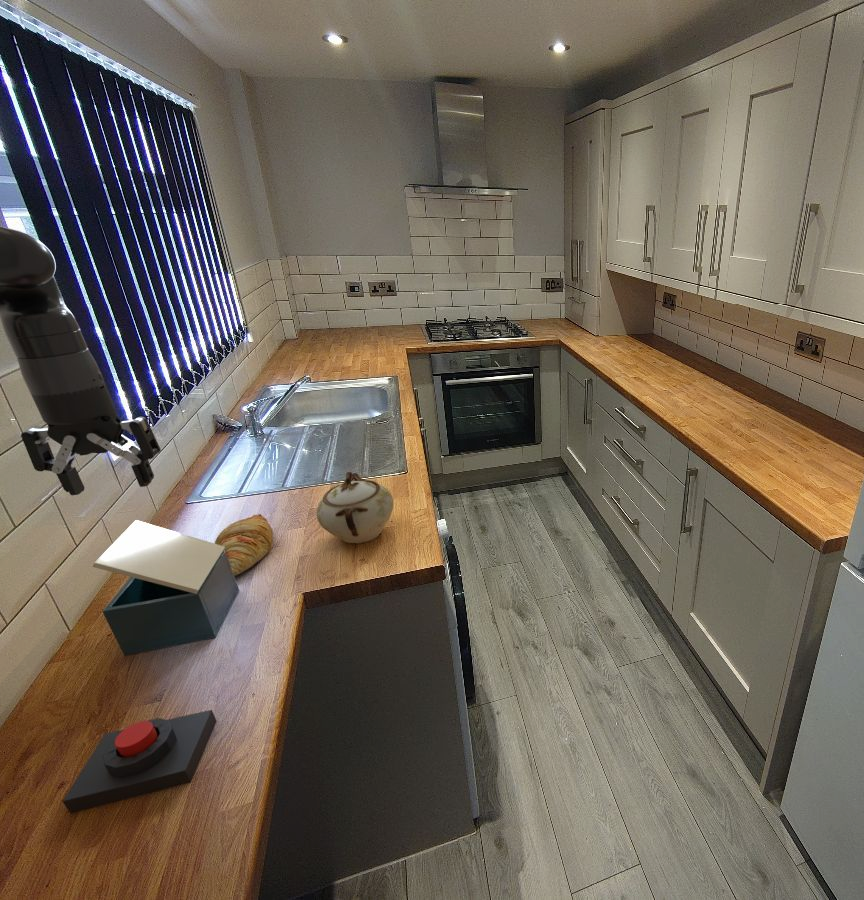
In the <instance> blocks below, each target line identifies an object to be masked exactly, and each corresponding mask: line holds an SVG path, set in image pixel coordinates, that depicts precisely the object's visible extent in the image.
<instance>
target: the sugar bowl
mask: <svg viewBox="0 0 864 900" xmlns="http://www.w3.org/2000/svg"><path fill="white" fill-rule="evenodd" d="M393 509H394V498H393V496H392V494H391V492H390V491H389V490H388V488H386V487H385V486H384V485H382V484H380V483H378V482H377V481H374V480H370V479H363V478H361V477H360V475H359V473H357V472H352V471H348V472H346V474H345V480H344V481H343V483H341V484H338V485H335V486H334V487H333V486H332V487H331V488H330V489H328V491H326V492H325V493H324V494H323V496H322V498H321V499H320V501H319V502H318V505H317V507H316V519H317V522H318V524H319V525H320V527H322V529H323V530H325V531H326V532H328V533H329V534H331V535H333V537H336V538H338V539H340V540H341V541H342V542H344V543H346V544H351V543H356V544H363V543H367V542H370V541H373V540H375V539H376V538H377V537H378V536H380V535H381V534H382V532H383V530H384V528H385V526H386V525H387V523H388V521H389V519H390V518H391V515H392V512H393V511H394V510H393ZM380 533H381V534H380ZM379 534H380V535H379ZM362 542H363V543H362Z"/></svg>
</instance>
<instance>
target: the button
mask: <svg viewBox="0 0 864 900" xmlns="http://www.w3.org/2000/svg"><path fill="white" fill-rule="evenodd" d="M122 730H123V731H122V732H121V733H120V734H119V735H118V736H117V738H116V739H115V746H116V747H117V749H118V751H119V753H120V755H121V756H123V757H131V756H135V755H137V754H139V753H141V752H142V751H144V750H146V749H148V748H149V747H150V746H151V745H152V744H153V743H154V742H155V741H156V739H157V732H156V730H155V728H154V726H153V724H152V723H151V722H149V721H147V720H142V721H138V722H135V723H132V724H131V725H129V726H127V727H125V728H124V729H122Z"/></svg>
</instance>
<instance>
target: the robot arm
mask: <svg viewBox="0 0 864 900" xmlns="http://www.w3.org/2000/svg"><path fill="white" fill-rule="evenodd" d="M56 268H57V265H56V259H55V257H54V255H53V253H52V251H51V250H50V249H49V248H48V247H47V245H45V244H44V243H43V242H42V241H41V240H39V239H38V238H36V237H34V236H33V235H31V234H29V233H27V232H24V231H21V230H17V229H14V228H9V227H4V226H0V322H1V325H2V328H3V331H4V333H5V336H6V338H7V341H8V342H9V345H10V347H11V349H12V351H13V353H14V356H15V357H16V359H17V362H18V366H19V370H20V374H21V376H22V378H23V381H24V383H25V385H26V387H27V389H28V392H29V393H30V396H31V398H32V400H33V402H34V404H35V406H36V408H37V411H38V412H39V415H40V417H41V419H42V421H43V422H44V423H45V424H47V428H46V427H45V428H43V427H41V426H36V425H35V426H33V427H30V428H29V429H27V430H26V431H24V432H21V434H20V437H21V439H22V443H23V445H24V447H25V450H26V451H27V454H28V457H29V459H30V462H31V464H32V467H33V469H34V470H35V471H37V472H44V471H46V472H52V473H54V474H56V476H57V479H58V480H59V482H60V484H61V487H62V489H63V491H65V492H66V493H69V495H70V496H78V495H80V494H81V493H82V492H84V491H85V485H84V483H83V481H82V478H81V476H80V474H79V472H78V470H77V468H76V466H73V464H74V462H75V460H76V458H77V456H78V455H79V456H87V455H90V454H106V453H108V452H109V453H111V454H113V455H114V456H116V457H122V458H123V459H125V460H126V461H128V462H130V463H131V466H130V467H131V469H132V472H133V474H134V476H135V479H136V481H137V483H138V486H139V487H140V488H144V487H148V486H149V485H150V484H151V483H152V481H153V479H155V474H154V472H153V469H152V465H150V460H152V459H153V458H154V457H156V455H158V454H159V453H161V450H162V449H161V447H160V445H159V443H158V441H157V440H158V439H156V436H155V434H154V432H153V430H152V427H151V425H150V424H149V421H148V419H147V418H146V417H145V416H141V415H140V416H138V417H136V418H134V419H128V420H122V419H121V418H119V416H118V415H117V411H116V408H115V404H114V402H113V399H112V397H111V395H110V391H109V390H108V387H107V385H106V382H105V380H104V375H103V373H102V372H101V370H100V368H99V366H98V363H97V361H96V359H95V358H94V356H93V355H92V353H91V351H90V349H89V348H88V344H87V342H86V340H85V338H84V336H83V332H82V330H81V328H80V325H79V323H78V321H77V320H76V317H75V316H74V314H73V313H72V312H71V310H70V309H69V308H68V307H67V305H66V304H65V301H64V298H63V296H62V293H61V291H60V289H59V286H58V282H57V281H56V278H55V276H54V275H55V272H56V270H57V269H56ZM125 430H126V431H127V432H128V434H129V435H132V436H133V437H134V439H135V441H136V442H135V441H133V440H132V439H130V438H128V436H125V435H124V431H125ZM50 440H53V441H54V442H56V443H57V444H59V445H60V448H59V449H58V452H57V453H56V456H54V454H53V450H52V448H51V446H50V443H49V442H50ZM118 444H119V445H118ZM136 444H137V445H136ZM72 466H73V467H72Z"/></svg>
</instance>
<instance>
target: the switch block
mask: <svg viewBox="0 0 864 900" xmlns="http://www.w3.org/2000/svg"><path fill="white" fill-rule="evenodd" d="M146 721H149V722H151V723H152V724H153V726H154V728H155V730H156V732H157V739H156V741H155V742H154V743H153V744H152V745H151V746H150V747H149V748H148V749H146V750H144V751H142V752H141V753H139V754H137V755H135V756H131V757H123V756H121V755H120V753H119V751H118V749H117V747H116V746H115V739H116V738H117V736H118V735H119V734H120V733H121V732H122V731H123V730H124V729H121V730H116V731H111V732H108V733H104V734H103V736H102V737H101V739H100V740H99V742H98V744H97V745H96V747H95V749H94V750H93V752H92V753H91V755H90V757H89V758H88V760H87V761H86V763H85V765H84V766H83V768H82V769H81V771H80V772H79V774H78V775H77V776H76V779H75V780H74V782H73V784H72V785H71V787H70V789H69V790H68V791H67V793H66V795H65V796H64V798H63V799H62V803H63V805H64V806H65V808H66V809H67V811H68V812H69V814H73V813H78V812H81V811H85V810H89V809H93V808H97V807H101V806H105V805H108V804H109V805H110V804H113V803H116V802H120V801H123V800H124V801H125V800H128V799H132V798H136V797H140V796H143V795H148V794H152V793H156V792H159V791H164V790H167V789H170V788H171V789H172V788H175V787H179V786H183V785H187V784H190V783H192V781H193V779H194V776H195V773H196V771H197V769H198V767H199V764H200V761H201V759H202V757H203V755H204V752H205V751H206V750H205V749H206V747H207V745H208V742H209V741H210V737H211V735H212V733H213V732H214V731H213V730H214V728H215V726H216V723H217V719H216V717H215V714H214V711H213V710H212V709H209V710H204V711H200V712H196V713H195V712H194V713H192V714H191V713H190V714H187V715H183V716H177V717H174V718H169V719H164V718H159V717H157V718H153V719H152V718H151V719H148V720H146Z"/></svg>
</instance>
